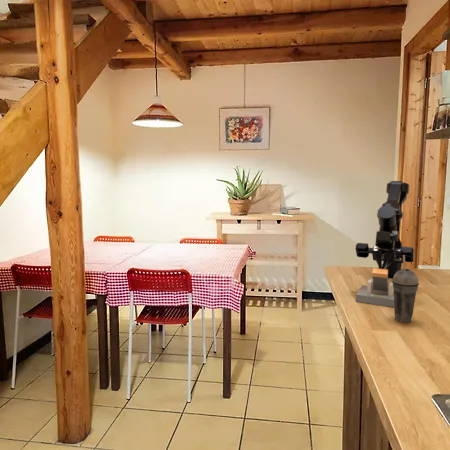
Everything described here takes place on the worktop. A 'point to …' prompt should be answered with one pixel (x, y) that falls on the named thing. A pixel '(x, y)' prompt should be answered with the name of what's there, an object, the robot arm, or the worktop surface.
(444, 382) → the worktop surface
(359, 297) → the breaker base
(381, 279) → the lever
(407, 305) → the beverage cup
